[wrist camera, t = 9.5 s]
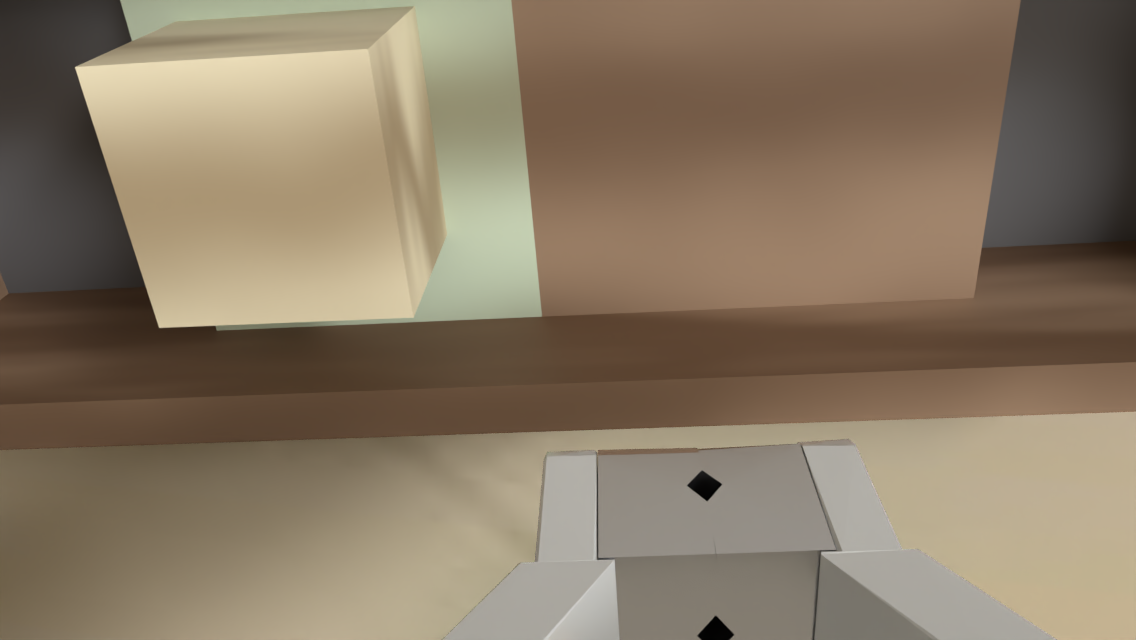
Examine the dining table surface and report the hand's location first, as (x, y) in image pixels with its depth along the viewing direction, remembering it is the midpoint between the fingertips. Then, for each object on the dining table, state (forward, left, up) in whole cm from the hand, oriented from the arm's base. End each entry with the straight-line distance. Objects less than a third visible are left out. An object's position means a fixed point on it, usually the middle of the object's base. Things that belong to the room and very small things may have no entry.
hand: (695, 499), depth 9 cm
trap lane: (0, +2, -15) cm, 15 cm away
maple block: (+1, +7, -12) cm, 14 cm away
